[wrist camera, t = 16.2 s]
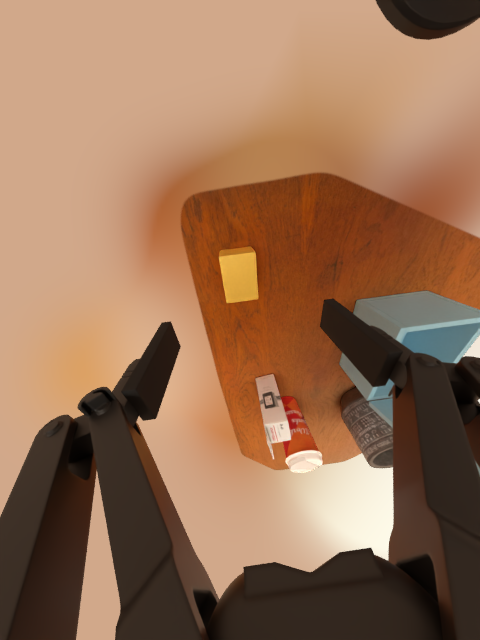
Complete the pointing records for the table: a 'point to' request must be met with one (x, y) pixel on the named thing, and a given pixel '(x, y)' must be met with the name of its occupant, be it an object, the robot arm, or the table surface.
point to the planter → (368, 429)
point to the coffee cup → (299, 440)
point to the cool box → (416, 330)
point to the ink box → (272, 411)
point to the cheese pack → (239, 274)
